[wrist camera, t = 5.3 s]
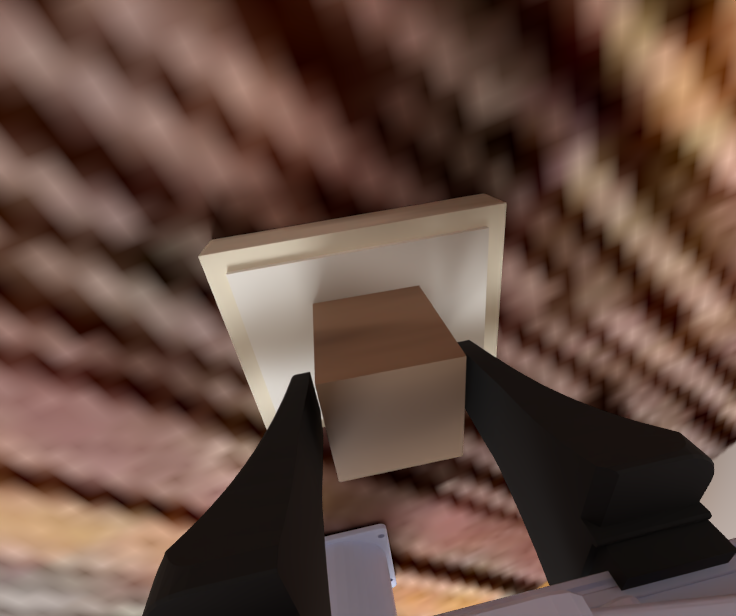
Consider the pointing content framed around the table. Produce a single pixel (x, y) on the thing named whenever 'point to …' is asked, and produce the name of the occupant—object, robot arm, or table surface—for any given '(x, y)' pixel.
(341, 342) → the walnut block
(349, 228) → the shallow cream tray
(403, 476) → the table surface
